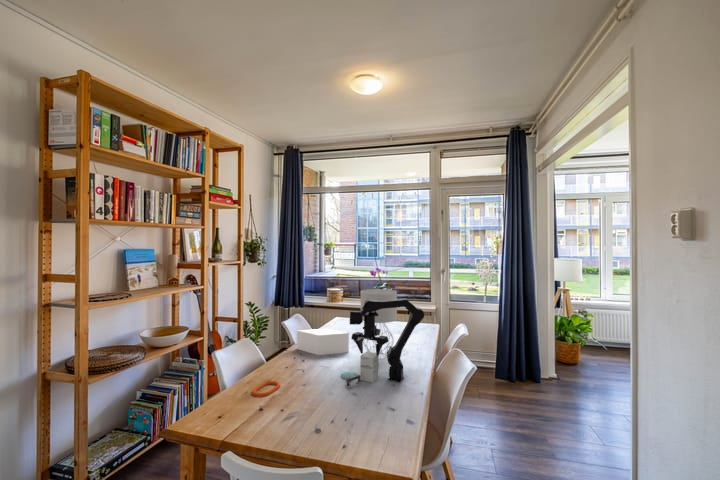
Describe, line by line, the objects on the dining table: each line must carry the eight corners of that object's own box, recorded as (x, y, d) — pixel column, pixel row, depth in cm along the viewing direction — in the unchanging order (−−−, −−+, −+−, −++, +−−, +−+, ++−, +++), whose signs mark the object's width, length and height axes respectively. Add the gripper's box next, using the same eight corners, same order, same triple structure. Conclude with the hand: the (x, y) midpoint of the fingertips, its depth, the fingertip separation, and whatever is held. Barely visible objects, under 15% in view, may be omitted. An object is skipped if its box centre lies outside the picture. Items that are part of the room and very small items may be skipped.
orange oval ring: (284, 382, 159) (264, 395, 145) (284, 385, 159) (264, 399, 145) (268, 379, 163) (247, 391, 149) (268, 382, 163) (247, 395, 149)
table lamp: (396, 350, 210) (396, 289, 211) (397, 363, 188) (397, 294, 189) (362, 349, 212) (362, 288, 213) (358, 361, 190) (358, 293, 191)
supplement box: (359, 380, 164) (359, 355, 165) (366, 375, 171) (366, 351, 171) (372, 383, 161) (372, 357, 161) (379, 377, 168) (379, 353, 168)
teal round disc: (360, 374, 171) (360, 373, 171) (352, 380, 164) (352, 380, 164) (346, 371, 176) (346, 370, 176) (337, 377, 168) (337, 376, 168)
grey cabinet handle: (362, 382, 162) (362, 374, 162) (353, 389, 154) (353, 380, 154) (349, 379, 166) (349, 371, 166) (339, 385, 158) (339, 377, 158)
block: (345, 357, 199) (345, 336, 199) (291, 353, 205) (292, 334, 205) (351, 348, 216) (351, 329, 216) (301, 345, 222) (301, 327, 223)
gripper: (392, 323, 169) (392, 353, 169) (361, 319, 178) (361, 347, 178) (383, 327, 159) (383, 359, 159) (350, 323, 169) (351, 353, 168)
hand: (369, 354), depth 166 cm, fingers open, 9 cm apart
